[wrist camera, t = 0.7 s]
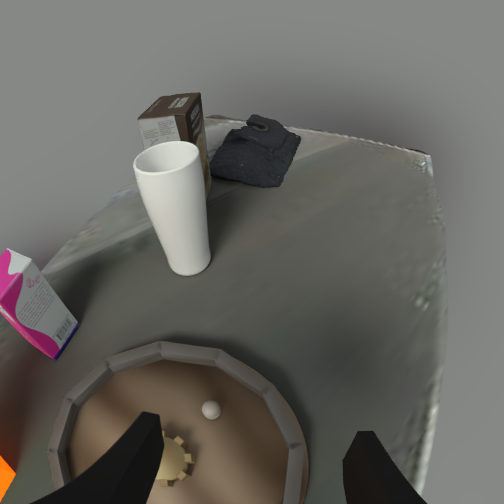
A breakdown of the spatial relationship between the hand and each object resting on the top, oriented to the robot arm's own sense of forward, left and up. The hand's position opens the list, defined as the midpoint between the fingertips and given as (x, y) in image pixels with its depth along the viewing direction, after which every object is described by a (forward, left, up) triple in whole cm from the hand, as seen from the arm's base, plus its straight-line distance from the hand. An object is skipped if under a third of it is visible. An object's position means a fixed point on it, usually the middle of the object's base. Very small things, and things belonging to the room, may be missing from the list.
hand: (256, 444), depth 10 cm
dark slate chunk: (+41, +32, -18) cm, 55 cm away
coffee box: (+24, +32, -17) cm, 43 cm away
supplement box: (-4, +28, -17) cm, 33 cm away
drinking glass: (+15, +22, -17) cm, 32 cm away
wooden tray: (-4, +7, -17) cm, 19 cm away
